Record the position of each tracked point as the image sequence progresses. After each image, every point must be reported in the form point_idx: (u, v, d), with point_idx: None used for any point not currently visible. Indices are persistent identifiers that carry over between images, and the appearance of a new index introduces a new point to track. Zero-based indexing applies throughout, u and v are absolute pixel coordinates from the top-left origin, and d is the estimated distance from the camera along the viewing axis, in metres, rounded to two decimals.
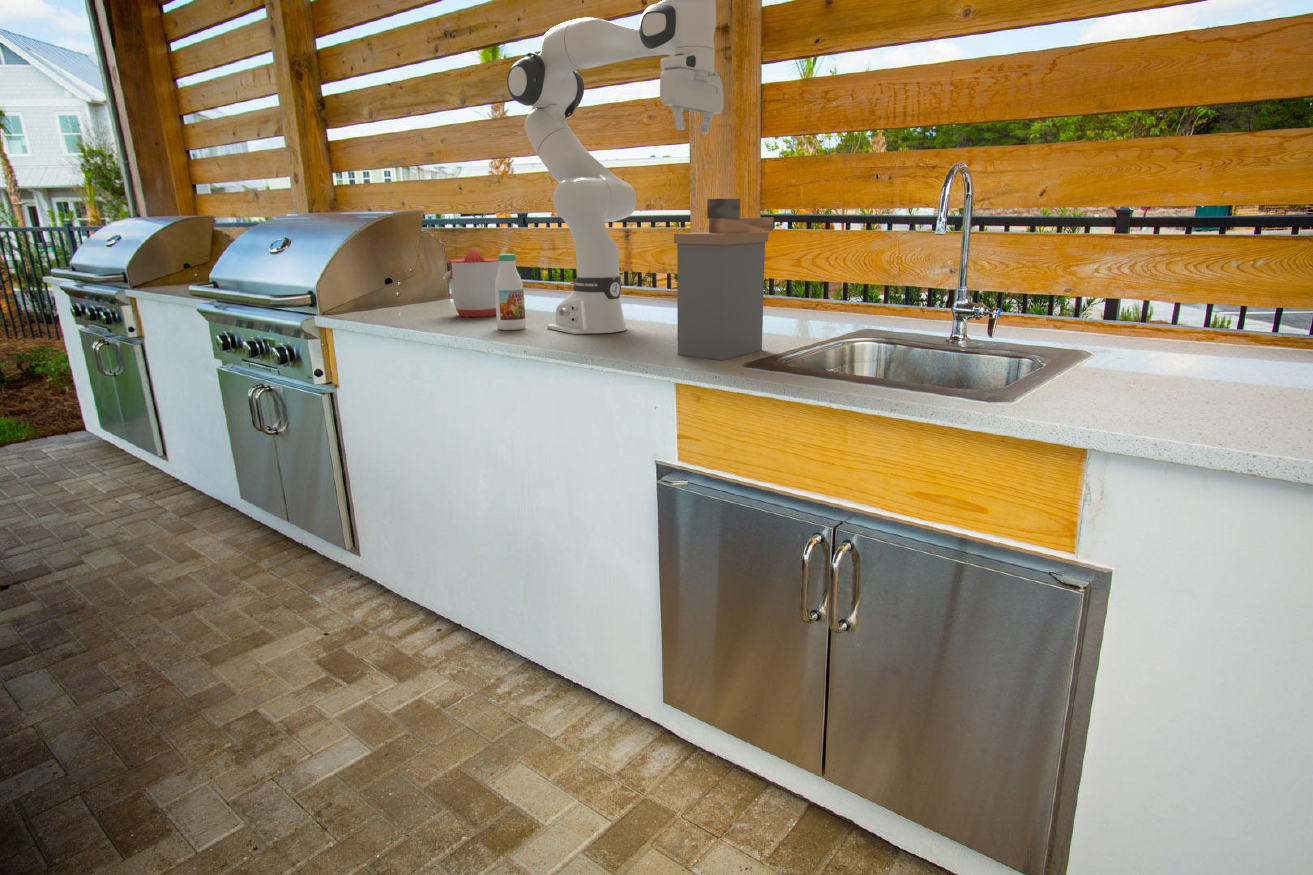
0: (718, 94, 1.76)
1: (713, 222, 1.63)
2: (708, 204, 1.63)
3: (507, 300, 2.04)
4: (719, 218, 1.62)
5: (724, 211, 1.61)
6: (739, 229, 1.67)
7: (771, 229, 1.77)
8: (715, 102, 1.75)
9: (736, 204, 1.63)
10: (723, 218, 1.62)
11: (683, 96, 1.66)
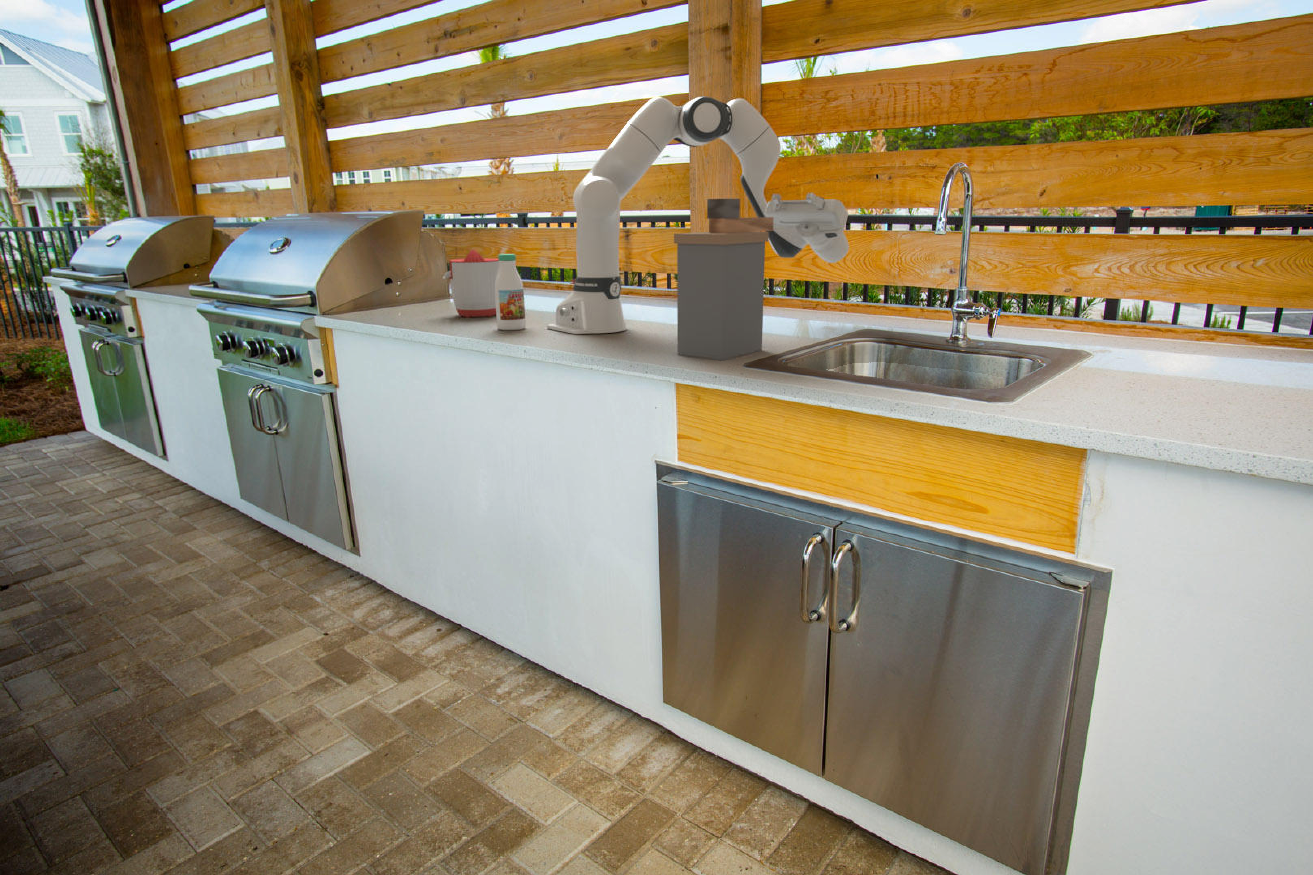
0: (777, 220, 1.96)
1: (713, 222, 1.63)
2: (708, 204, 1.63)
3: (507, 300, 2.04)
4: (719, 218, 1.62)
5: (724, 211, 1.61)
6: (739, 229, 1.67)
7: (771, 229, 1.77)
8: (778, 217, 1.94)
9: (736, 204, 1.63)
10: (723, 218, 1.62)
11: (824, 216, 1.86)
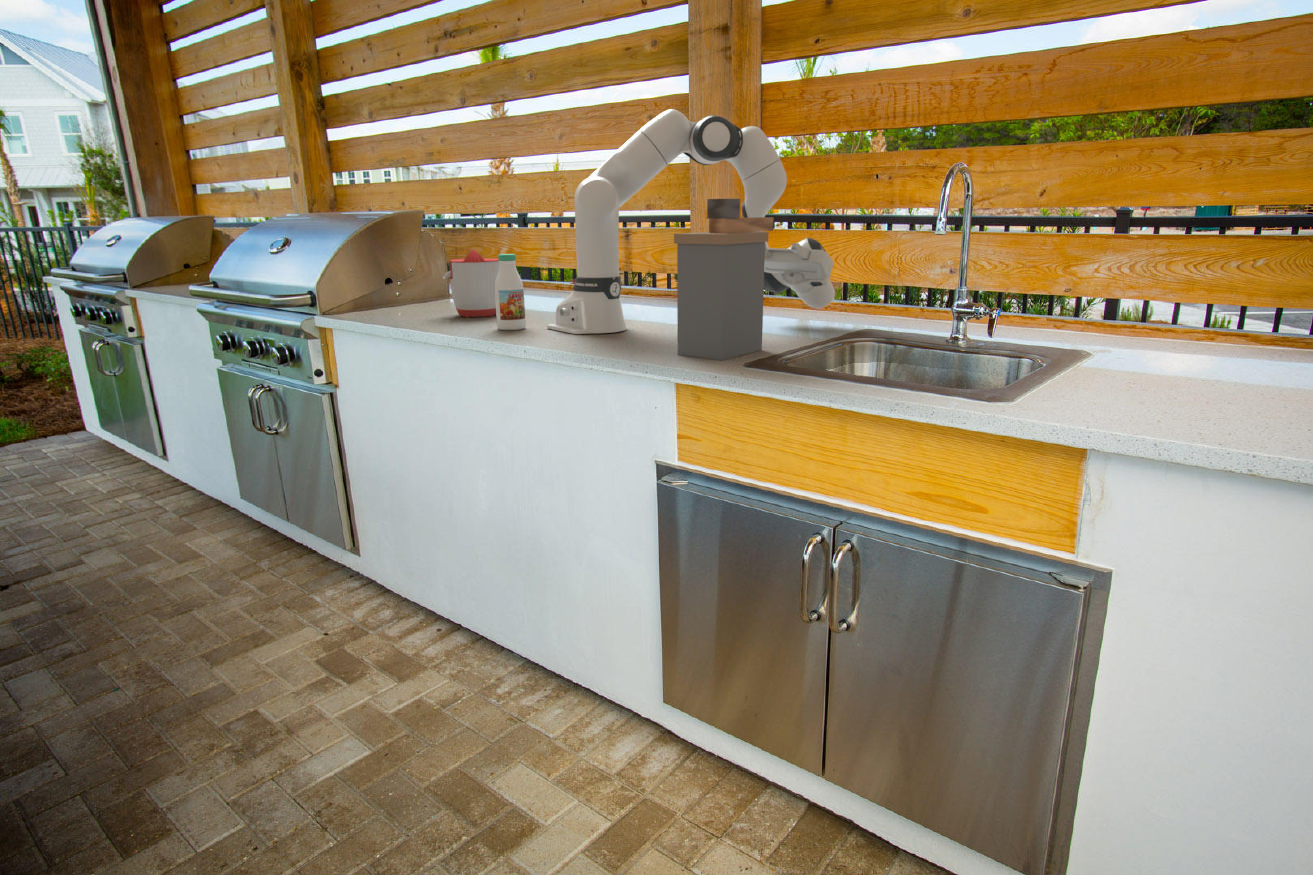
0: None
1: (713, 222, 1.63)
2: (708, 204, 1.63)
3: (507, 300, 2.04)
4: (719, 218, 1.62)
5: (724, 211, 1.61)
6: (739, 229, 1.67)
7: (771, 229, 1.77)
8: (764, 264, 1.93)
9: (736, 204, 1.63)
10: (723, 218, 1.62)
11: (809, 266, 1.85)
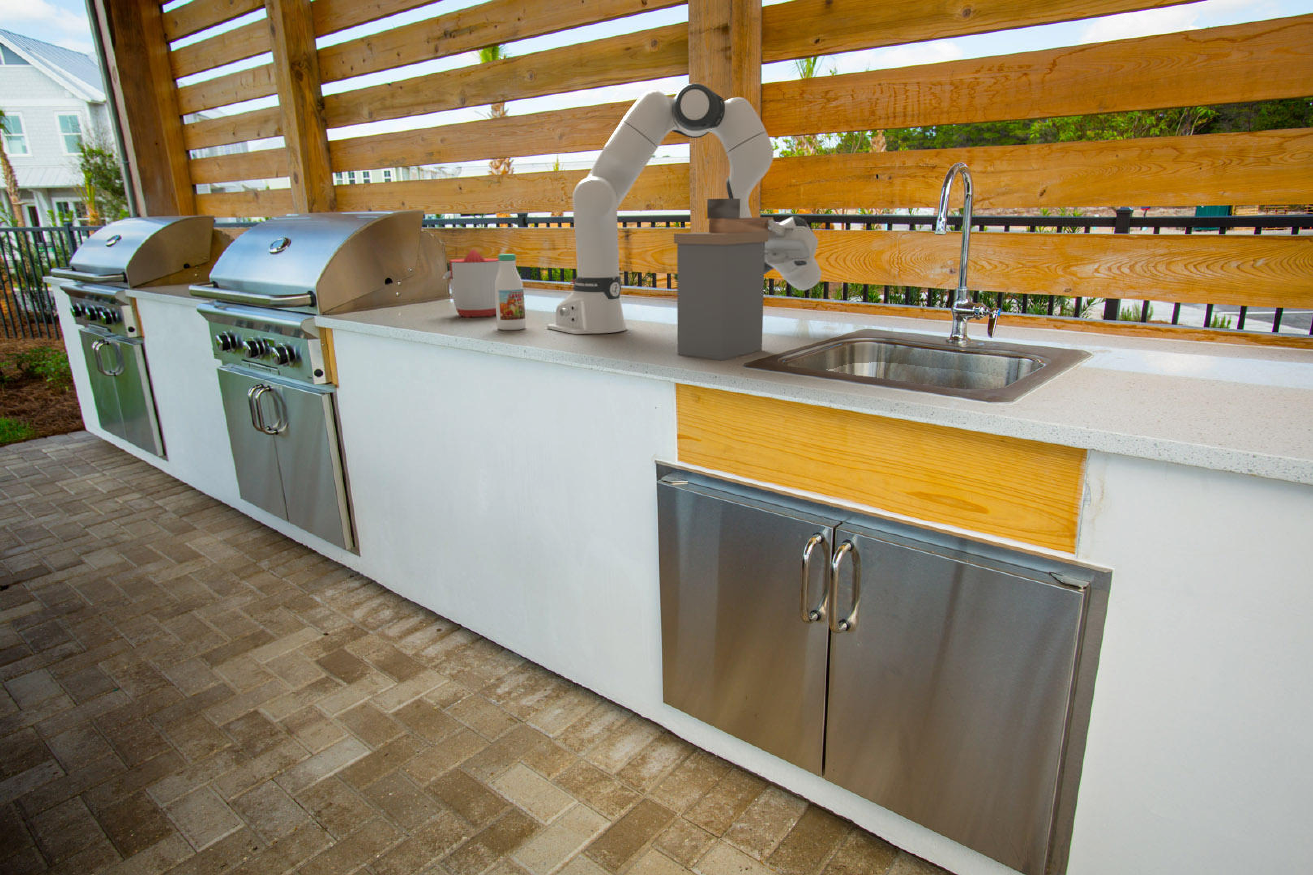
0: None
1: (713, 222, 1.63)
2: (708, 204, 1.63)
3: (507, 300, 2.04)
4: (719, 218, 1.62)
5: (724, 211, 1.61)
6: (739, 229, 1.67)
7: None
8: None
9: (736, 204, 1.63)
10: (723, 218, 1.62)
11: (792, 243, 1.76)
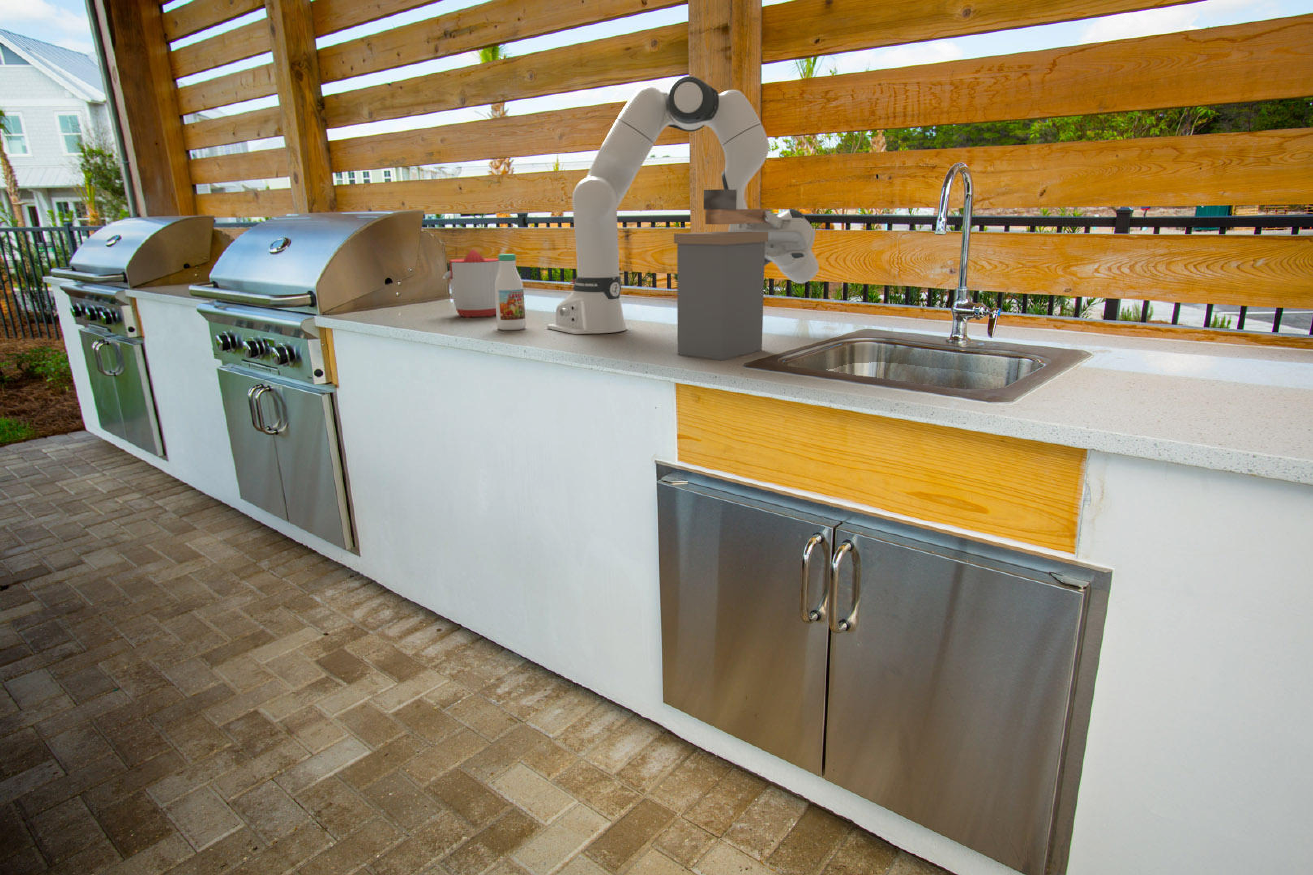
0: None
1: (709, 213, 1.62)
2: (704, 195, 1.62)
3: (507, 300, 2.04)
4: (716, 209, 1.61)
5: (720, 202, 1.60)
6: (736, 220, 1.65)
7: None
8: None
9: (733, 195, 1.62)
10: (720, 209, 1.60)
11: (789, 235, 1.75)
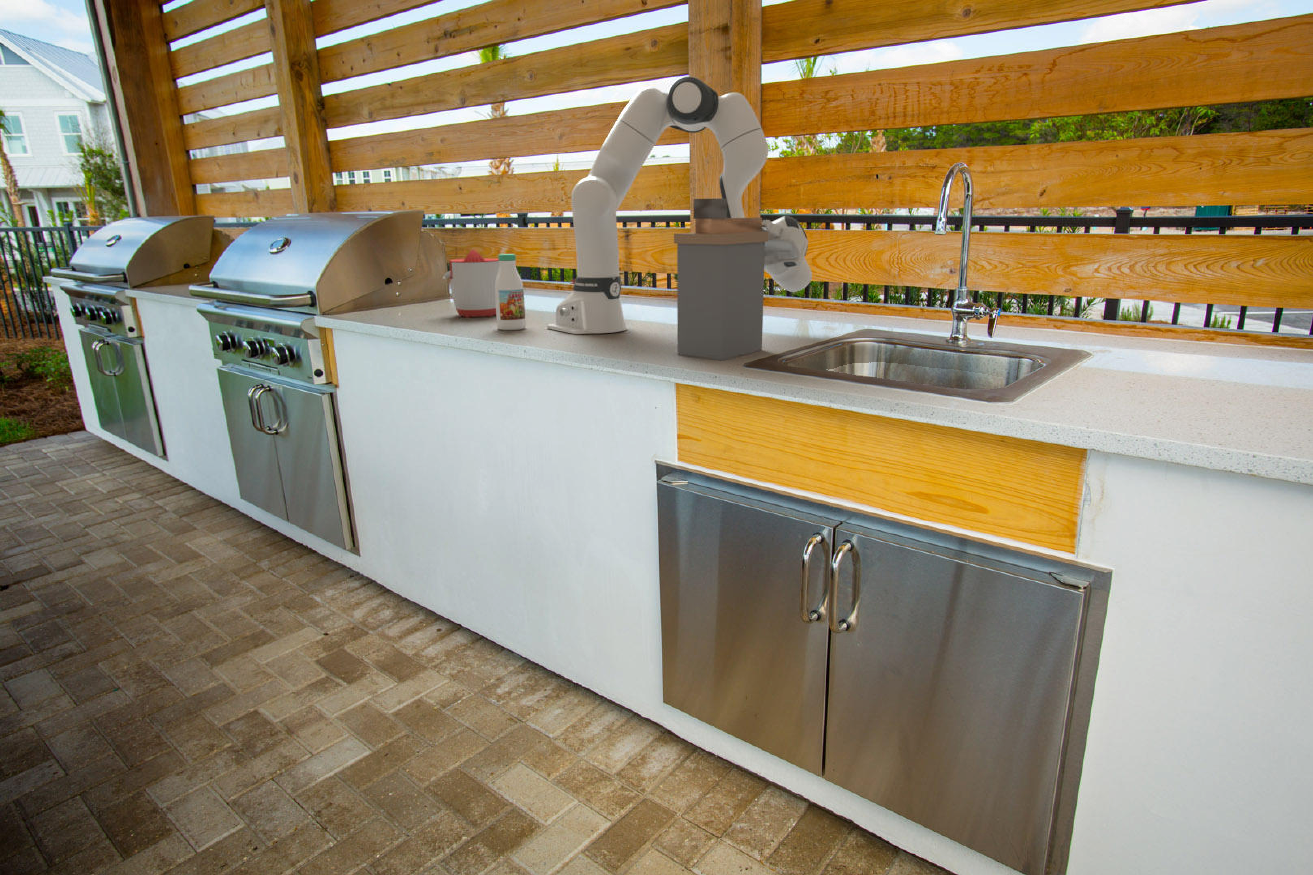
0: None
1: (699, 222, 1.60)
2: (694, 204, 1.59)
3: (507, 300, 2.04)
4: (705, 218, 1.59)
5: (710, 211, 1.57)
6: (727, 229, 1.63)
7: (760, 230, 1.73)
8: None
9: (723, 204, 1.59)
10: (709, 218, 1.58)
11: (781, 244, 1.73)
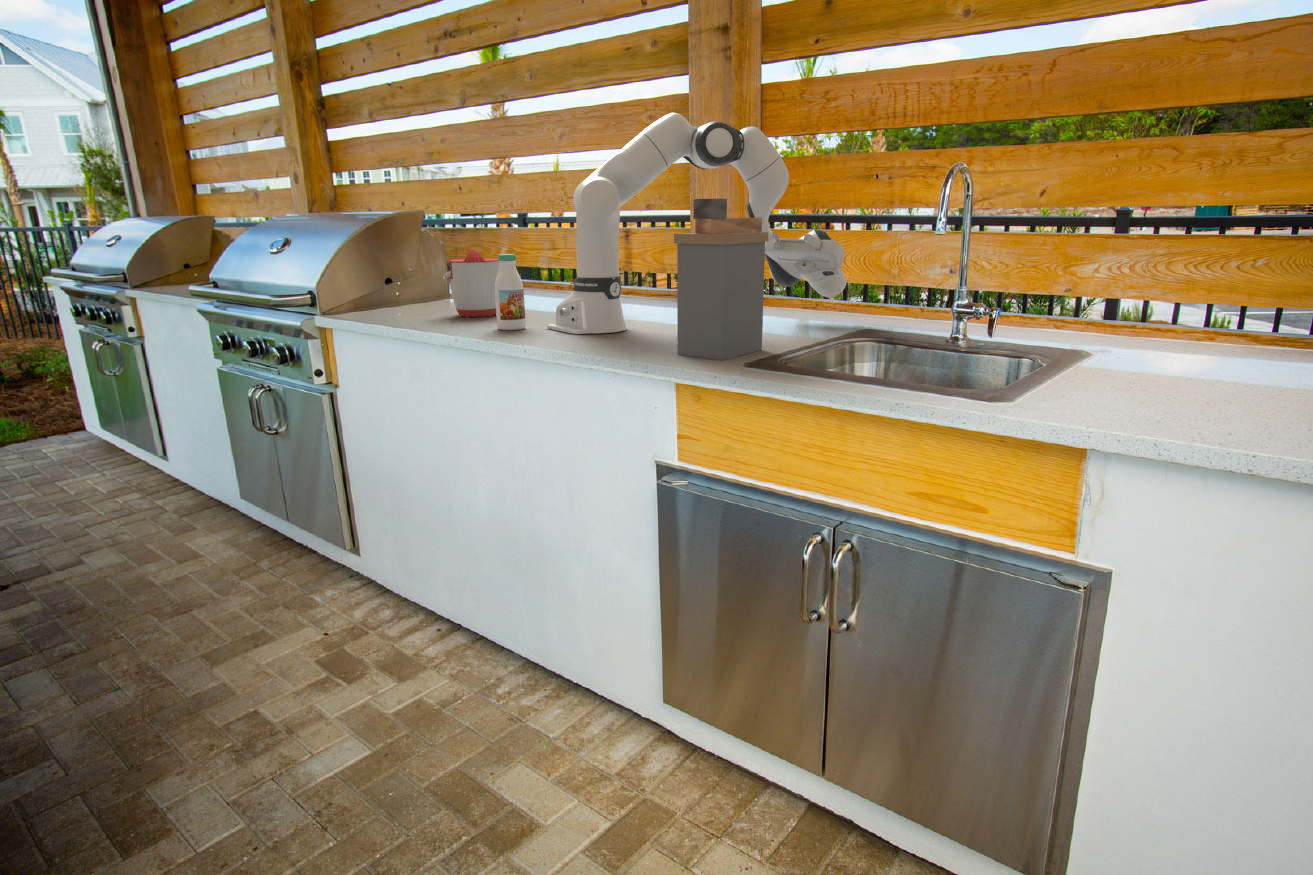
0: (776, 257, 1.99)
1: (699, 222, 1.60)
2: (694, 204, 1.59)
3: (507, 300, 2.04)
4: (705, 218, 1.59)
5: (710, 211, 1.57)
6: (727, 229, 1.63)
7: (760, 230, 1.73)
8: (777, 254, 1.96)
9: (723, 204, 1.59)
10: (709, 218, 1.58)
11: (821, 256, 1.88)
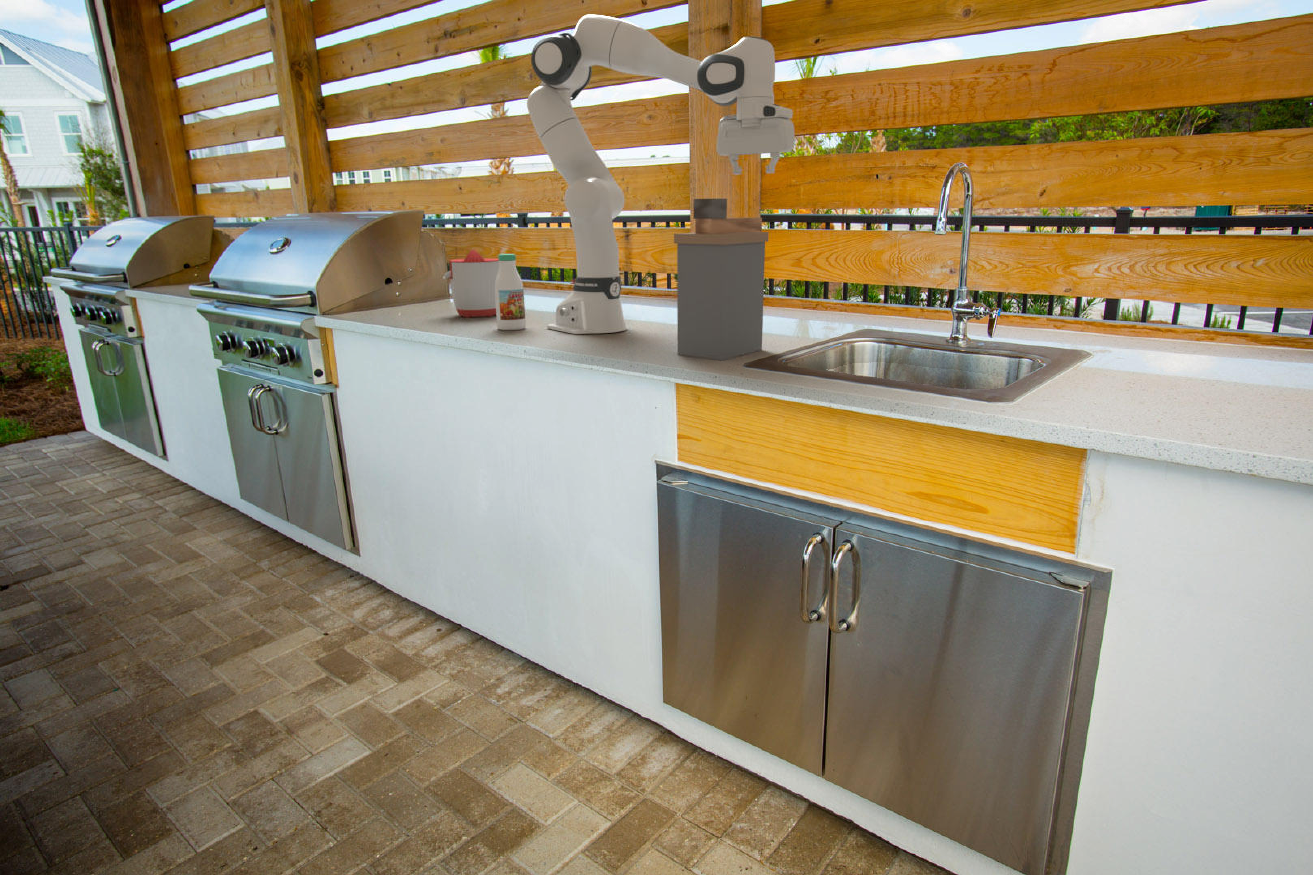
0: None
1: (699, 222, 1.60)
2: (694, 204, 1.59)
3: (507, 300, 2.04)
4: (705, 218, 1.59)
5: (710, 211, 1.57)
6: (727, 229, 1.63)
7: (760, 230, 1.73)
8: None
9: (723, 204, 1.59)
10: (709, 218, 1.58)
11: None
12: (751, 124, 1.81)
